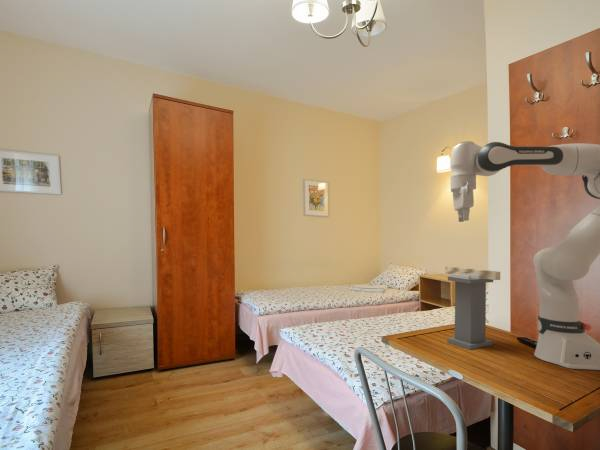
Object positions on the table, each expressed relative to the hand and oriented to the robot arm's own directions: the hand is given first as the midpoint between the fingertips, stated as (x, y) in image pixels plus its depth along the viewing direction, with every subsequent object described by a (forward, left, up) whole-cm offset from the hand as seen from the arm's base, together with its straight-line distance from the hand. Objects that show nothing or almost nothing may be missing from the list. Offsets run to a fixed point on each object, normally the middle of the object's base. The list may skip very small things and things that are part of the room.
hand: (463, 221), depth 133 cm
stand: (-4, -8, -48) cm, 49 cm away
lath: (-5, -12, -22) cm, 26 cm away
